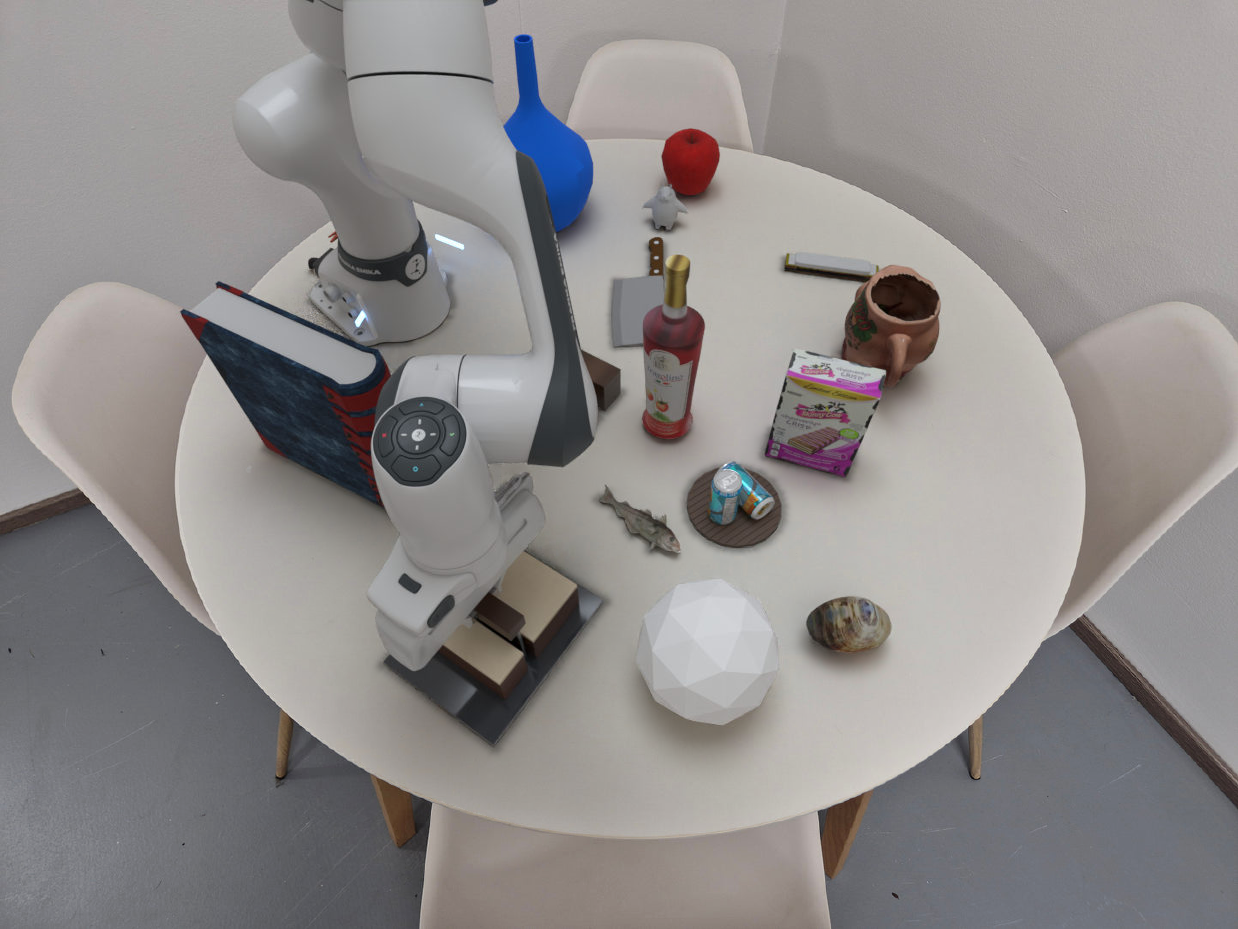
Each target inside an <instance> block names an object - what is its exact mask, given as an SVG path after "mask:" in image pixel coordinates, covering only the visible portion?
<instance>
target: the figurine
mask: <svg viewBox="0 0 1238 929" xmlns="http://www.w3.org/2000/svg"><path fill="white" fill-rule="evenodd" d="M641 209H642V210H643V209H651V215H652V220H653V221H654V229H658V231H660V229H661V227H662V226H663V227H665V231H666V232H667V231H671V230H672V228H673V225H674V223H675V221H676V219H677V218H678V213H683V214H686V215H688V214H689V211H688V209H687V207H686V206H685V205H684V204H683V203H682V202H681V200H679V199H678V198H677V196H676V191H675V190H674V189H672V185H671V184H670V185H668V186H667V185H666V186H665V185H664V183H663V182H661V184H660V188H659V189H658V190H657V192H656V194H655V195H654V196H653V197H652V198H650V199H648V200H647V201H645V202H644V203H643V206H642V207H641Z"/></svg>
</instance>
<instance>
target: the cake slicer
mask: <svg viewBox="0 0 1238 929" xmlns="http://www.w3.org/2000/svg"><path fill="white" fill-rule="evenodd" d="M473 610H475V611H476V612H477V613H478V616H479V619H478V620H477V622H479V623H480V624H482V625H483V626H485V627H486V628H488V629H489V630H490V631H492V632H493V633H495V634H496V635H498V636H499V637H501V638H502V639H504V640H505V641H507V642H508V643H509V644H511V645H512V646H514V647H515V648H517V649H518V650H520V651H521V652H523V654H524V657H525V658H526V657H527V654H526V651H525V647H524V644H523V640H522V637H521V633H520V630H521V629H522V627H523V626H524V625H525V624H526V622H525V618H524V615H522V614H521V613H519V612H518V611H516V610H515V609H513V608H512V607H510V606H509V605H507V604H506V603H504V602H503V601H501V600H500V599H498V598H497V597H495V596H494V595H492V594H491V593H489V592H488V593H487V594H486V595H485V596H484V597H483V599H482V600H481V601H480V602H479V603H478V604H477V606H476V607H475V608H474V609H473Z"/></svg>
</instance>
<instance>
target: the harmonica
mask: <svg viewBox="0 0 1238 929" xmlns="http://www.w3.org/2000/svg"><path fill="white" fill-rule="evenodd" d="M783 268H784V270H787V271H792V272H794V271H795V273H799V274H806V275H813V276H821V277H830V278H835V279H843V280H851V281H858V282H868V281H869V280H870V278H871V277H872V276H873V275H874V274H875V273H877V272H879V271H880V270H879V265H878V264H872V262H871V261H870V260H866V259H860V258H852V257H844V256H837V255H829V254H823V253H815V252H807V251H797V252H796V253H788V252H787V253H786V254H785V261H784V267H783Z"/></svg>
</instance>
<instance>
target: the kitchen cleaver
mask: <svg viewBox="0 0 1238 929" xmlns="http://www.w3.org/2000/svg"><path fill="white" fill-rule="evenodd" d="M648 249H649V250H650V254H649V255H650V256H649V259H650V263H649V264H650V267H651V268H650V269H649V272H648V275H644V276H636V277H629V278H622V279H614V280H613V281H614V282H613V291H612V304H611V330H612V333H611V334H612V344H613V347H614V348H623V347H643V320H644V317H645V316H646V314H647V313H648V312H649V311H650V310H651V309H653V308H655V307H657V306H659V305H663V302H664V296H665V290H664V239H663V238H662V237H661V236H654V237H652V238H651V239H650V240H649V241H648Z"/></svg>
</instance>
